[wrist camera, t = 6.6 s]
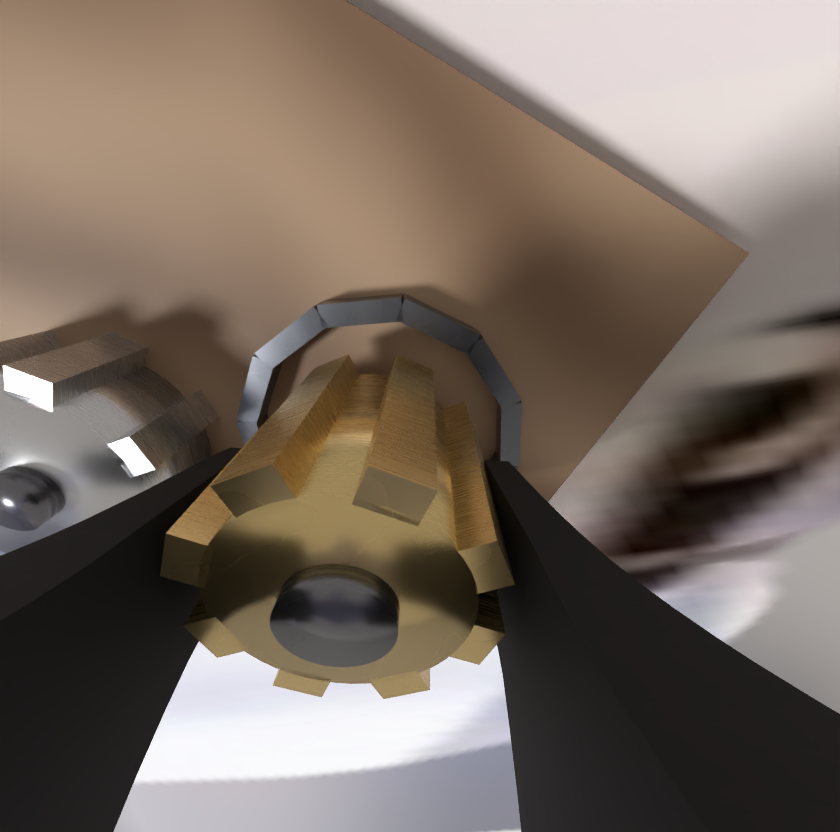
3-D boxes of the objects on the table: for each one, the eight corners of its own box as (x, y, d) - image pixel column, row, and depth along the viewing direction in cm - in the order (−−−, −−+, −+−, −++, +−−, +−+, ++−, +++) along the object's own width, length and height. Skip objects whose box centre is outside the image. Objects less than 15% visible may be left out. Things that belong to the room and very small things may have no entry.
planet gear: (427, 543, 12) (428, 746, 7) (261, 488, 11) (132, 679, 6) (511, 402, 10) (597, 565, 5) (308, 318, 9) (161, 414, 4)
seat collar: (441, 556, 14) (442, 573, 14) (228, 480, 13) (216, 495, 12) (569, 373, 11) (579, 383, 10) (294, 238, 9) (283, 239, 8)
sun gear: (208, 540, 14) (144, 629, 11) (9, 475, 13) (-131, 553, 10) (249, 388, 11) (177, 449, 8) (-5, 285, 10) (-214, 307, 7)
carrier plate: (447, 604, 17) (448, 624, 16) (11, 459, 14) (-18, 474, 13) (720, 252, 10) (749, 253, 9) (-34, -214, 7) (-103, -281, 6)
